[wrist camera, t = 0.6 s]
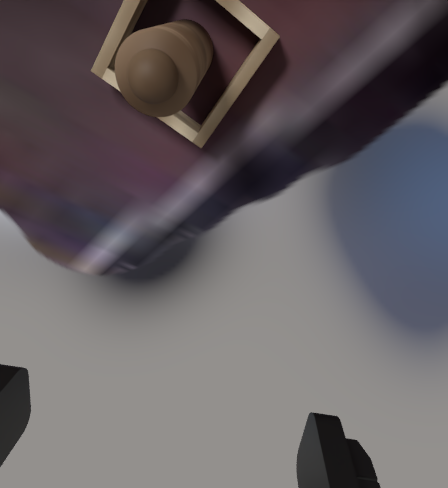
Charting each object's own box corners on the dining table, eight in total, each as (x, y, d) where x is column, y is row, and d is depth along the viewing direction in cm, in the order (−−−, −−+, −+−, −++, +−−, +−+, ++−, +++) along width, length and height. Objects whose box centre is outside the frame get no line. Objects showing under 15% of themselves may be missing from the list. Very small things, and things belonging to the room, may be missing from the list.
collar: (100, 66, 33) (90, 70, 31) (163, -65, 28) (157, -71, 26) (203, 140, 36) (201, 148, 34) (277, 34, 31) (280, 36, 29)
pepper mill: (149, 57, 32) (88, 92, 20) (177, 6, 30) (128, 8, 18) (194, 90, 34) (163, 143, 21) (224, 44, 31) (209, 71, 19)
